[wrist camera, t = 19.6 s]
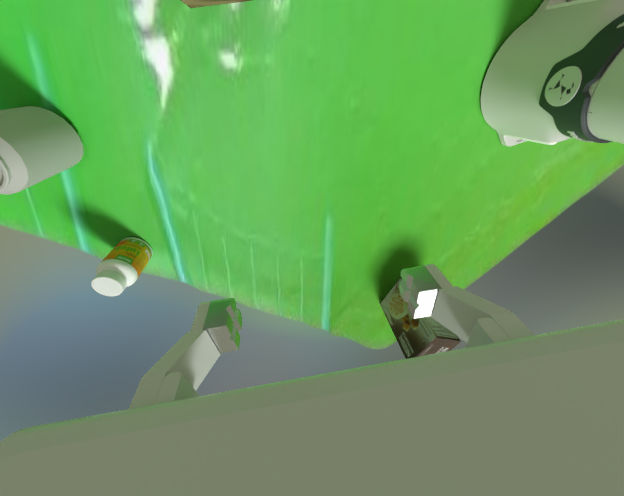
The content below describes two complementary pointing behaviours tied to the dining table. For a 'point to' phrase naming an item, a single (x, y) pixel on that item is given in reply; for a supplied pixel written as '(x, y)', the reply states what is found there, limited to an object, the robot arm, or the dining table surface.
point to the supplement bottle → (122, 266)
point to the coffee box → (415, 328)
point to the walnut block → (208, 2)
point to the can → (34, 147)
